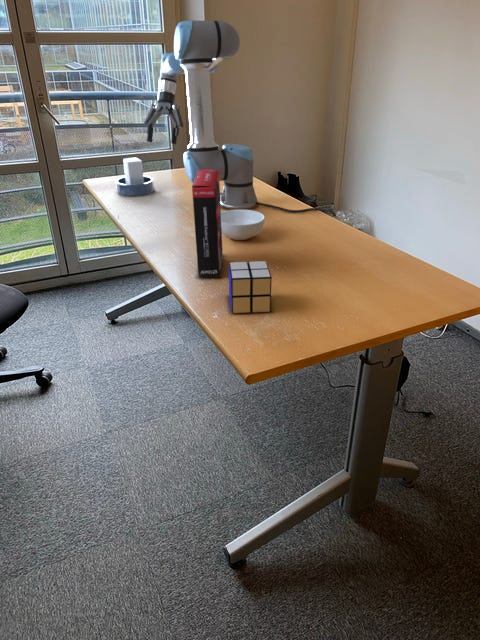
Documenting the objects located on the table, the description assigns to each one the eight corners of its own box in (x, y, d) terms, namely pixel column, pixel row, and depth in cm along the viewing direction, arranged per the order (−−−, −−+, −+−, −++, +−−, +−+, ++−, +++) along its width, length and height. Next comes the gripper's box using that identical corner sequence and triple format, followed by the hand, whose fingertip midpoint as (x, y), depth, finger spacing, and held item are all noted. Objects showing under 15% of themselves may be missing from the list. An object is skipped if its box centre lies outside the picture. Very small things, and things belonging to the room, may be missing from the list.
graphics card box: (220, 279, 145) (217, 185, 132) (196, 279, 146) (191, 185, 132) (222, 255, 160) (220, 168, 146) (201, 255, 160) (196, 168, 146)
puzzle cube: (229, 295, 137) (228, 262, 131) (265, 294, 137) (266, 260, 132) (231, 314, 128) (231, 278, 123) (270, 312, 129) (271, 277, 124)
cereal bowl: (271, 231, 178) (272, 212, 175) (252, 248, 165) (253, 227, 162) (228, 225, 184) (228, 206, 181) (207, 240, 171) (206, 220, 168)
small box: (145, 191, 219) (142, 160, 213) (131, 193, 217) (127, 162, 210) (140, 186, 226) (136, 157, 219) (126, 188, 223) (122, 158, 217)
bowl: (159, 188, 226) (158, 176, 223) (143, 198, 213) (142, 186, 210) (128, 185, 230) (126, 174, 228) (110, 195, 217) (109, 183, 215)
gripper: (194, 95, 220) (188, 146, 224) (149, 94, 231) (145, 142, 235) (185, 90, 213) (179, 142, 218) (139, 90, 225) (134, 139, 229)
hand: (161, 143), depth 226 cm, fingers open, 13 cm apart
